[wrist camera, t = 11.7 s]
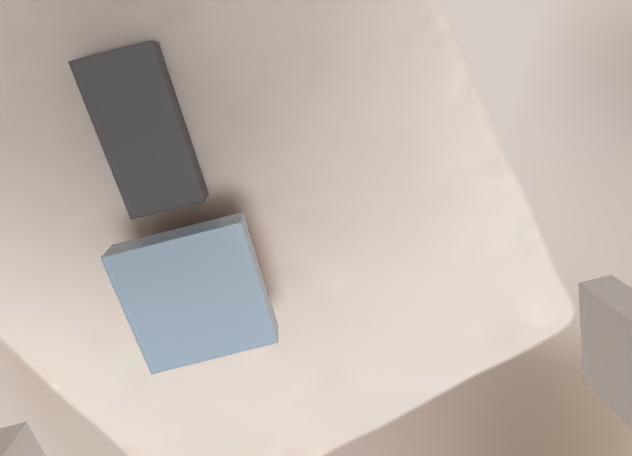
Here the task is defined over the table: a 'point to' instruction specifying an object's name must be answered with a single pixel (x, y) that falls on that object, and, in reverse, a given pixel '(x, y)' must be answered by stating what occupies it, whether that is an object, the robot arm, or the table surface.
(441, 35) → the table surface
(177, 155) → the block
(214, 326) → the blue square slab
